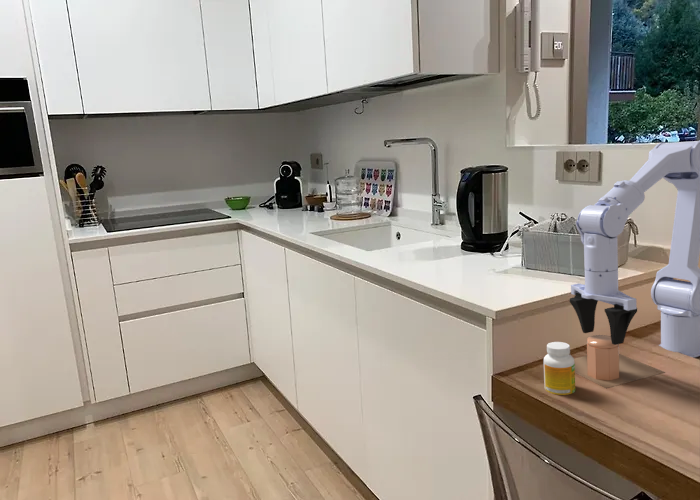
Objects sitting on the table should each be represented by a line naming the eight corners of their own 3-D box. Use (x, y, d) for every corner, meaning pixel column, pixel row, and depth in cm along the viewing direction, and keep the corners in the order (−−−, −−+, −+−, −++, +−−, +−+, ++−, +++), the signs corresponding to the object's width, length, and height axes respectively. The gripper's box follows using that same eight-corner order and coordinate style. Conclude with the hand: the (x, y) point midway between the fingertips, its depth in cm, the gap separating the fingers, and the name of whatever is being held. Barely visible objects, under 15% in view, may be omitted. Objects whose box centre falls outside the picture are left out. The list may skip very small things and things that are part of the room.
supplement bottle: (578, 401, 97) (576, 350, 95) (547, 401, 98) (545, 350, 97) (572, 388, 102) (570, 339, 101) (542, 388, 103) (540, 340, 102)
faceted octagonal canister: (604, 366, 107) (603, 333, 106) (625, 376, 102) (625, 341, 101) (581, 372, 106) (580, 338, 105) (602, 382, 101) (601, 346, 99)
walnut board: (609, 355, 116) (609, 349, 115) (665, 378, 102) (665, 372, 102) (555, 368, 112) (555, 363, 111) (606, 394, 98) (606, 388, 98)
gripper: (557, 265, 106) (559, 331, 108) (613, 278, 93) (614, 353, 95) (586, 260, 108) (588, 324, 110) (645, 272, 95) (646, 345, 97)
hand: (602, 337), depth 103 cm, fingers open, 7 cm apart
